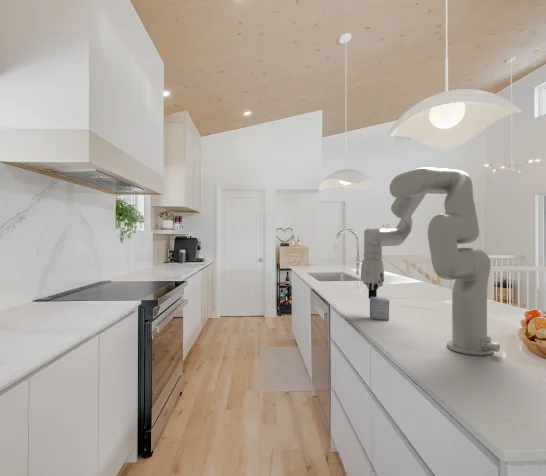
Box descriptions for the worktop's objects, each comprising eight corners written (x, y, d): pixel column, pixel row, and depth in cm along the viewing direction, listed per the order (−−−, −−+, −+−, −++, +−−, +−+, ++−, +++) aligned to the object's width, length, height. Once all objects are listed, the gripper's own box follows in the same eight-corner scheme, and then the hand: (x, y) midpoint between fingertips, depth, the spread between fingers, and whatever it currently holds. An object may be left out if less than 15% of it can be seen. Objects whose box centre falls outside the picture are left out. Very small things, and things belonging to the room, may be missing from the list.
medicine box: (388, 316, 152) (388, 297, 151) (389, 320, 148) (389, 300, 147) (369, 315, 154) (369, 296, 153) (369, 319, 150) (369, 299, 149)
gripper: (354, 256, 159) (354, 296, 159) (379, 258, 146) (378, 302, 146) (367, 255, 163) (366, 294, 163) (392, 257, 149) (391, 300, 150)
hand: (372, 298), depth 155 cm, fingers closed
